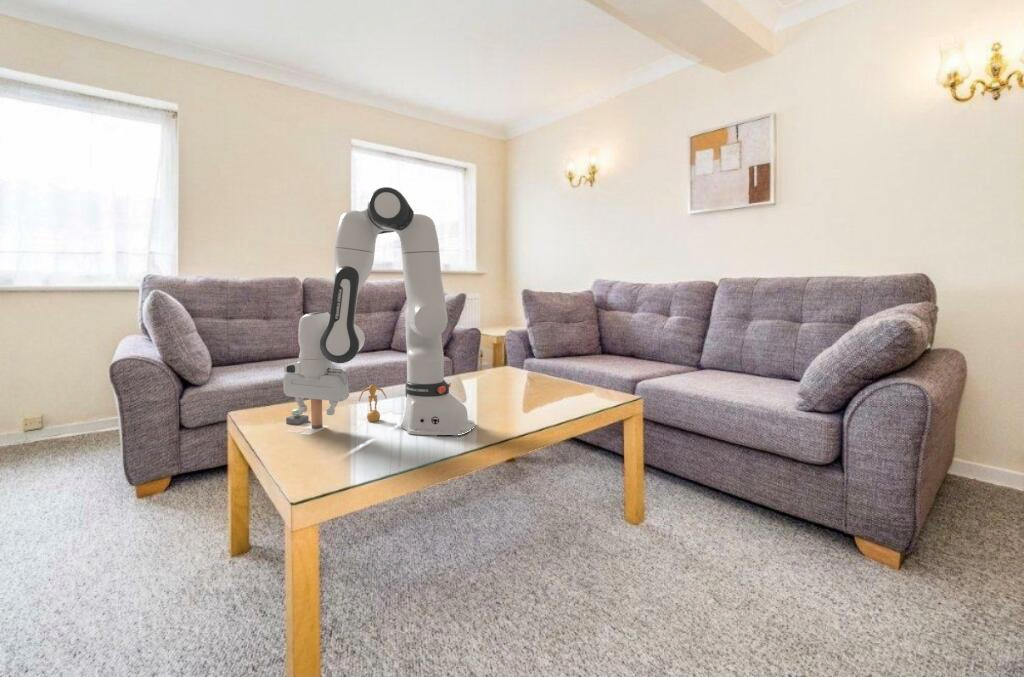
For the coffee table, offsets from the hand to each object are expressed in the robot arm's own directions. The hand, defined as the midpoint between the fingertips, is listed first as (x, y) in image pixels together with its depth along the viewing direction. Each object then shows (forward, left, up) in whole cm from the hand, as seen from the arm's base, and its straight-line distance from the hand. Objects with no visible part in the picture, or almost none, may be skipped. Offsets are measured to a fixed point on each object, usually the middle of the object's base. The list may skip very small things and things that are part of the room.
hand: (316, 413), depth 137 cm
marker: (0, 0, -4) cm, 4 cm away
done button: (+9, -2, -3) cm, 10 cm away
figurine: (-11, -12, -5) cm, 17 cm away
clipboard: (+4, +2, -5) cm, 7 cm away
